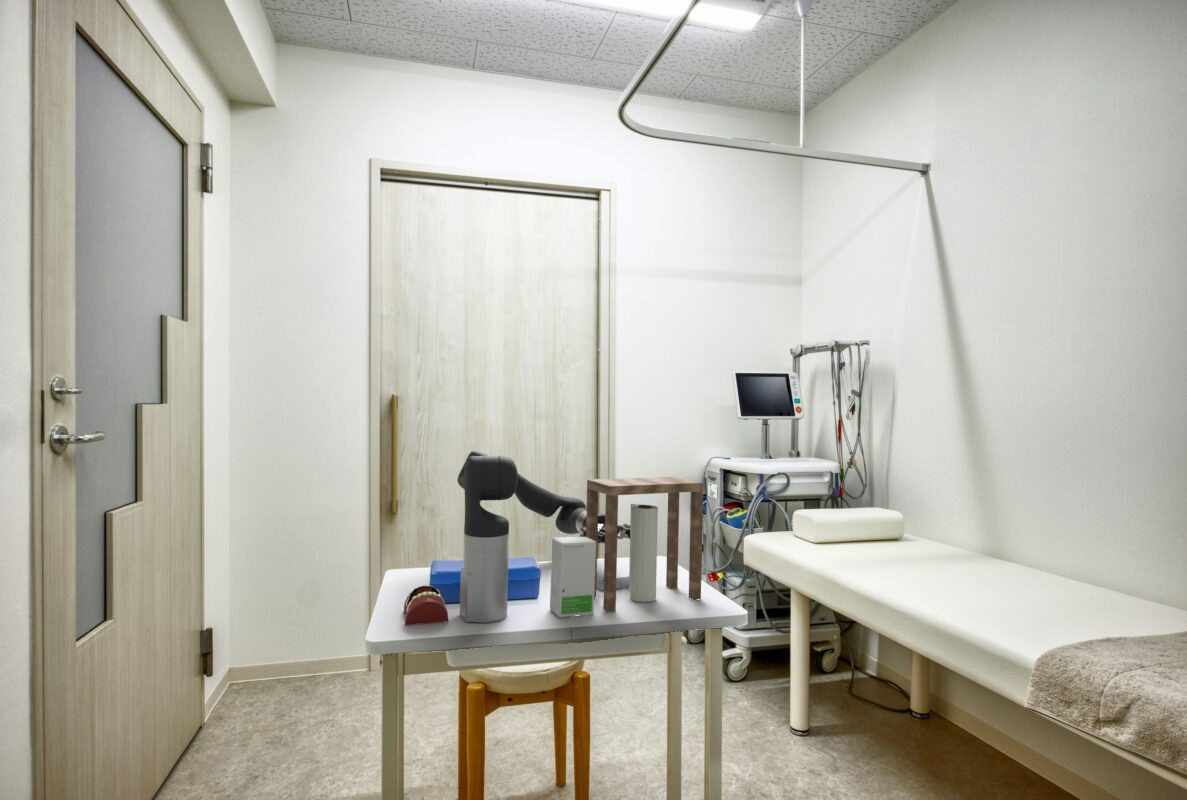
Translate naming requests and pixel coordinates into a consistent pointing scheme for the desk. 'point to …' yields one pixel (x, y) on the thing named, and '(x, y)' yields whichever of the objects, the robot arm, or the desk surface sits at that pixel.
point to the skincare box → (572, 576)
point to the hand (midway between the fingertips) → (621, 538)
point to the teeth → (425, 606)
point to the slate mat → (620, 583)
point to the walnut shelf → (696, 515)
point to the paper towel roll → (643, 552)
